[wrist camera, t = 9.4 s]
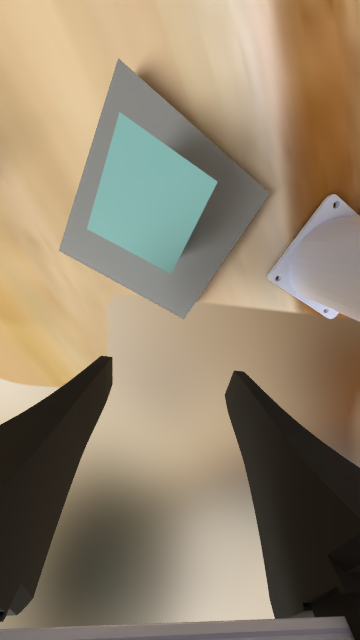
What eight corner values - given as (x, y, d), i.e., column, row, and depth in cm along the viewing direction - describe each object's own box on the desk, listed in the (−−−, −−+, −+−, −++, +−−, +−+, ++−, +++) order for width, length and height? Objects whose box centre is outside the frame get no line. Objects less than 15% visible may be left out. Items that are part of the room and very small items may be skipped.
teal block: (199, 205, 13) (217, 181, 8) (172, 260, 15) (171, 273, 9) (144, 169, 12) (119, 112, 7) (121, 232, 14) (86, 228, 8)
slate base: (255, 200, 15) (269, 193, 13) (182, 309, 19) (183, 319, 17) (128, 91, 12) (118, 58, 10) (74, 248, 16) (58, 250, 14)
